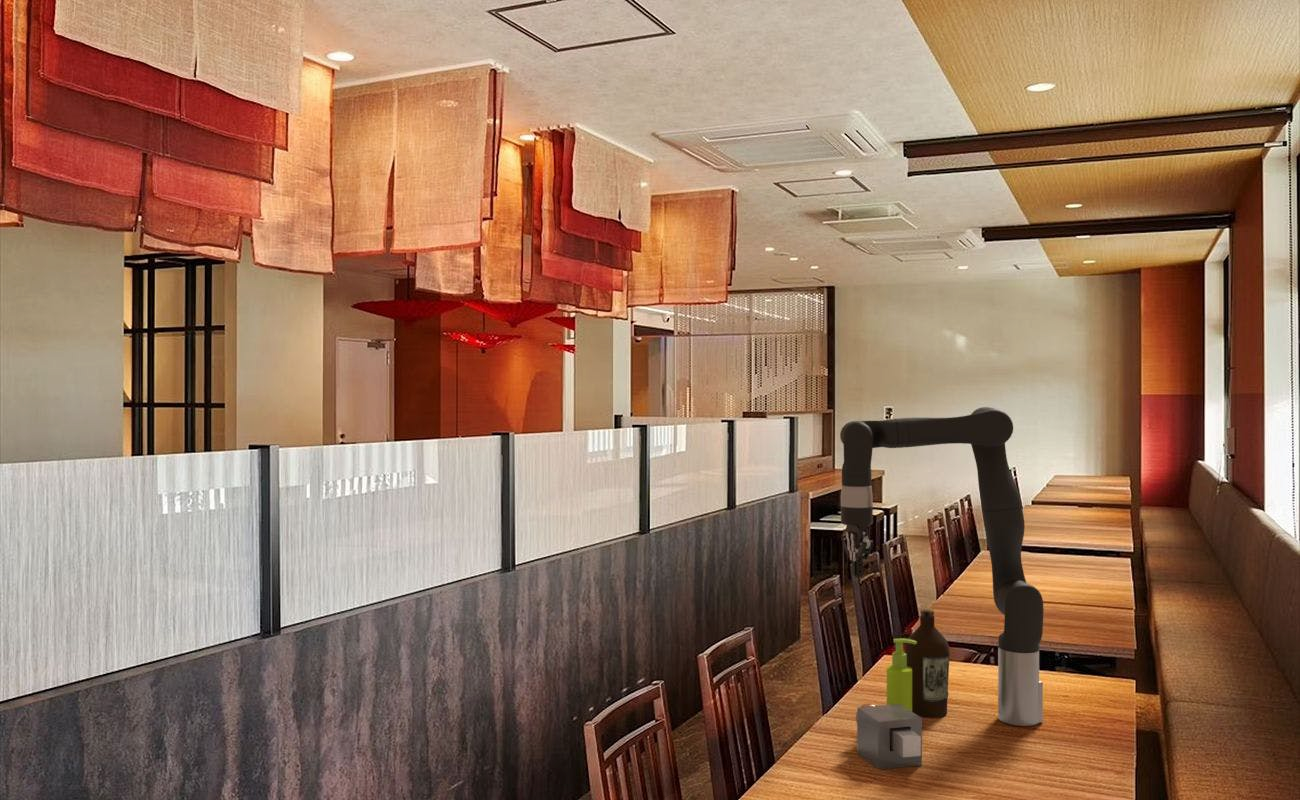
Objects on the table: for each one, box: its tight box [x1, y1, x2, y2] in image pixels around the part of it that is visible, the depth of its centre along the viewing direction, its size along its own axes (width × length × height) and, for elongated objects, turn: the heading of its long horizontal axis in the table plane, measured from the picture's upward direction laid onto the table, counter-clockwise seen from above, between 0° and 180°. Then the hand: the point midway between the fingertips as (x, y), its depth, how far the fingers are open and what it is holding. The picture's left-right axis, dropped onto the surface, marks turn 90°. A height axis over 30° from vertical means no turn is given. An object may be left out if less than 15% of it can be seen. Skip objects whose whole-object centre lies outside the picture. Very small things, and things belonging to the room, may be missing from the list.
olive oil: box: [904, 609, 951, 719], centre depth 255 cm, size 11×11×25 cm
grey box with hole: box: [856, 704, 923, 771], centre depth 222 cm, size 10×10×10 cm
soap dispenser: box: [886, 637, 917, 712], centre depth 246 cm, size 6×7×20 cm
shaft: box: [855, 703, 921, 757], centre depth 222 cm, size 6×20×6 cm, turn 14°
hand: (857, 576), depth 250 cm, fingers closed
